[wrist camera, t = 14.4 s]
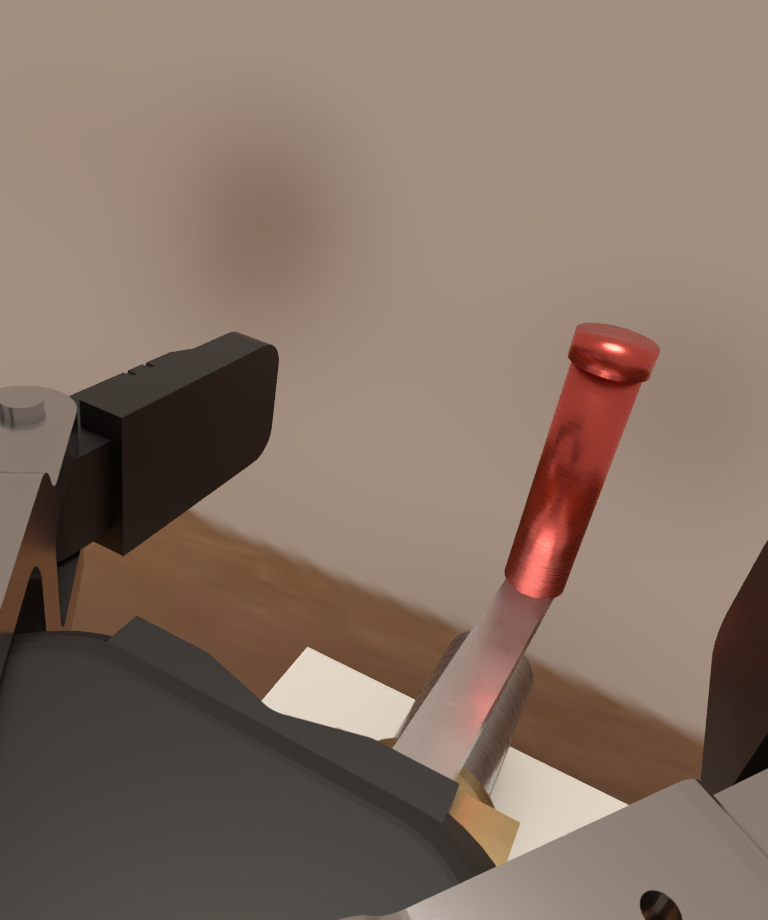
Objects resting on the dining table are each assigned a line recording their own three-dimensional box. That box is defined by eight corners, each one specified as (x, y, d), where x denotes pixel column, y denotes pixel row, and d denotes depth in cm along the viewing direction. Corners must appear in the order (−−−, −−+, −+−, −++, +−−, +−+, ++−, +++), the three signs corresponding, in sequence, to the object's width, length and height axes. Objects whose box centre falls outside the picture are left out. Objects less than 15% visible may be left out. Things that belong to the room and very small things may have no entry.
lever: (402, 930, 20) (526, 564, 13) (303, 864, 21) (374, 497, 15) (568, 602, 33) (669, 342, 27) (503, 572, 34) (584, 315, 28)
